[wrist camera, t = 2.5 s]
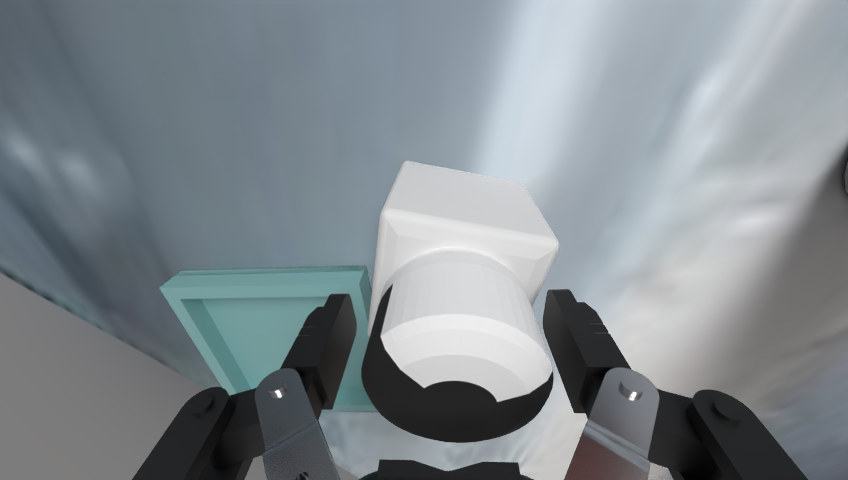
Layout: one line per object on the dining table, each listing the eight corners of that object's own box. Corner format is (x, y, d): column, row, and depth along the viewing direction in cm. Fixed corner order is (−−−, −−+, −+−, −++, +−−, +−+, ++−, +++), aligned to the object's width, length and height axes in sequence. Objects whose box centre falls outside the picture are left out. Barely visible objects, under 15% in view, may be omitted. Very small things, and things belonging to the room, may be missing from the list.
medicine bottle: (490, 278, 21) (531, 480, 11) (388, 260, 21) (333, 449, 11) (524, 180, 18) (631, 346, 8) (402, 157, 18) (340, 296, 7)
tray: (366, 265, 22) (359, 283, 20) (391, 390, 29) (388, 412, 27) (181, 270, 23) (159, 288, 21) (248, 389, 30) (236, 409, 28)
